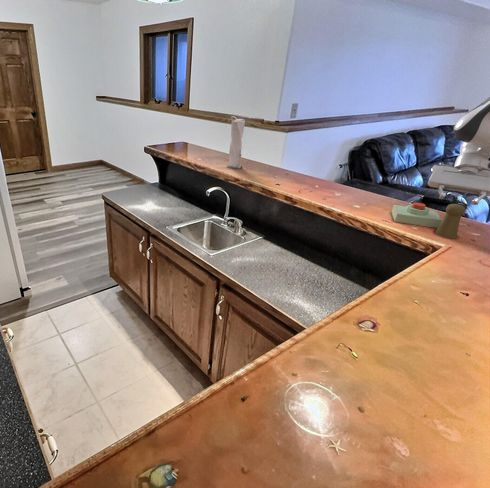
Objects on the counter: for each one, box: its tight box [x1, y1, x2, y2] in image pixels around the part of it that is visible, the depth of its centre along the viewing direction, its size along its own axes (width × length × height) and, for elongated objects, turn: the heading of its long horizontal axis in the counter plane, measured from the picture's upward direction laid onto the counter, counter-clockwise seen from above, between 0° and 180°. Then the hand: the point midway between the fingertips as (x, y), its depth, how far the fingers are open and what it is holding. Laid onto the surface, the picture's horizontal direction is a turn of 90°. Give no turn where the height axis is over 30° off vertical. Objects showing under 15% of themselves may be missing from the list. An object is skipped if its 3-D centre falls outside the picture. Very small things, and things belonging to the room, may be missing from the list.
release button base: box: [391, 204, 443, 229], centre depth 133 cm, size 14×11×5 cm
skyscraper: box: [227, 115, 246, 170], centre depth 199 cm, size 8×8×28 cm
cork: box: [434, 203, 466, 239], centre depth 120 cm, size 6×6×11 cm
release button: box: [411, 202, 427, 210], centre depth 132 cm, size 4×4×2 cm
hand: (457, 200), depth 122 cm, fingers open, 8 cm apart
